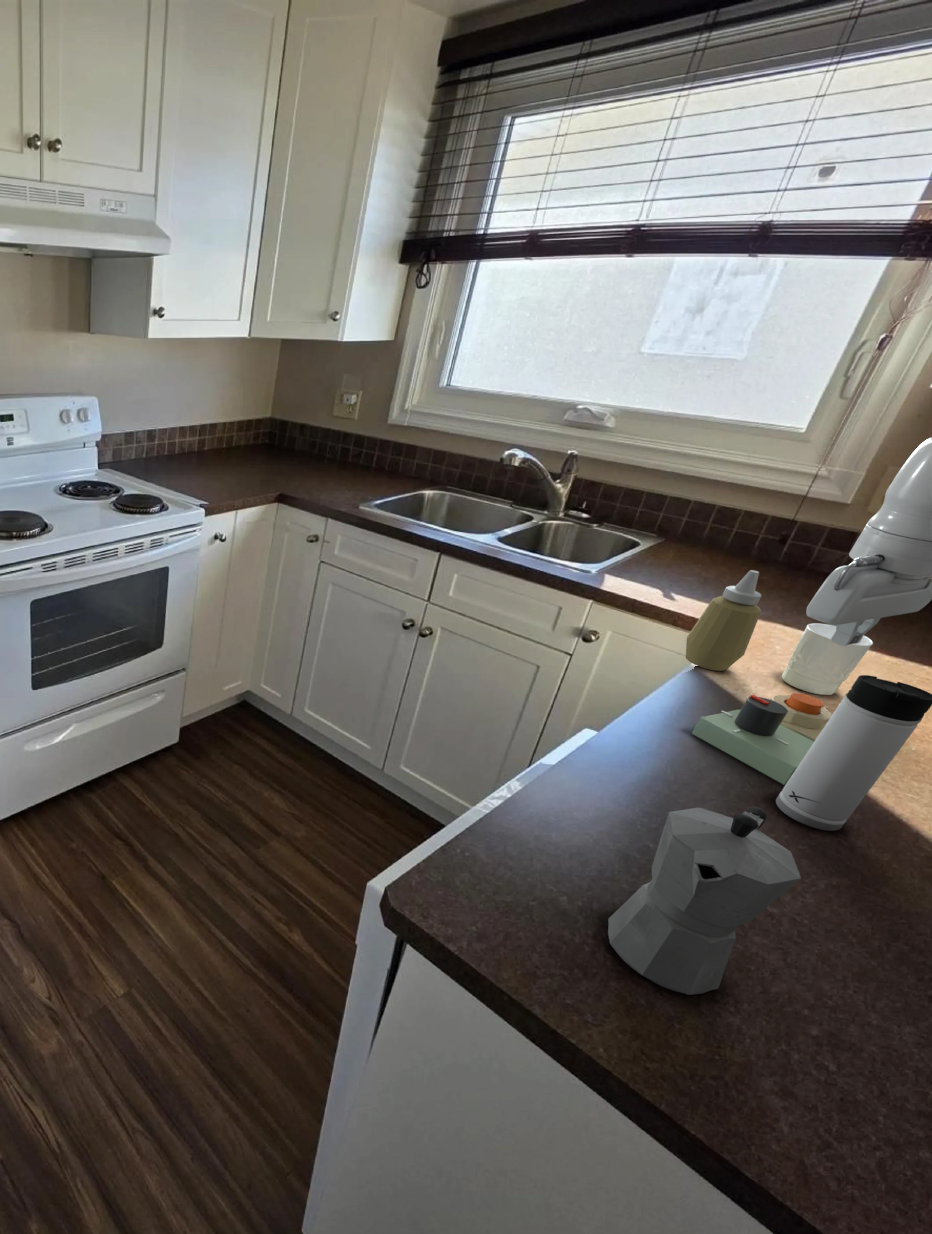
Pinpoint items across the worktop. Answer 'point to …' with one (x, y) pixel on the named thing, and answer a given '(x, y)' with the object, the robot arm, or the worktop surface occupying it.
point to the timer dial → (760, 716)
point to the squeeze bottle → (725, 626)
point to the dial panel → (755, 745)
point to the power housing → (803, 719)
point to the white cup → (822, 660)
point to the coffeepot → (700, 897)
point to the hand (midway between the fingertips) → (843, 642)
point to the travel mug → (852, 751)
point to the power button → (804, 703)
